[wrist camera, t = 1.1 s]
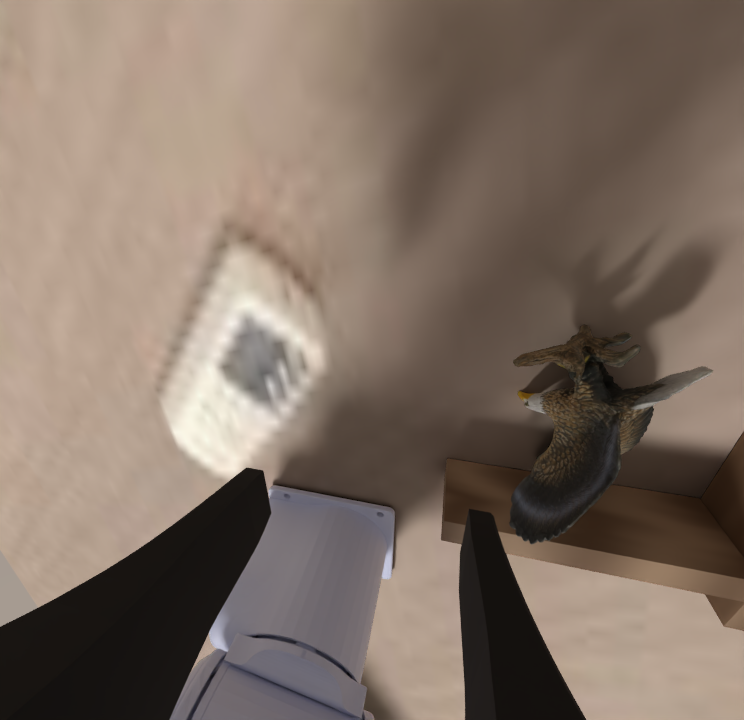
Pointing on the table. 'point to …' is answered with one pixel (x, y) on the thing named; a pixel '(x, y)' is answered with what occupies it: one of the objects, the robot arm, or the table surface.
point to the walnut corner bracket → (626, 531)
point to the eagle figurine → (584, 432)
